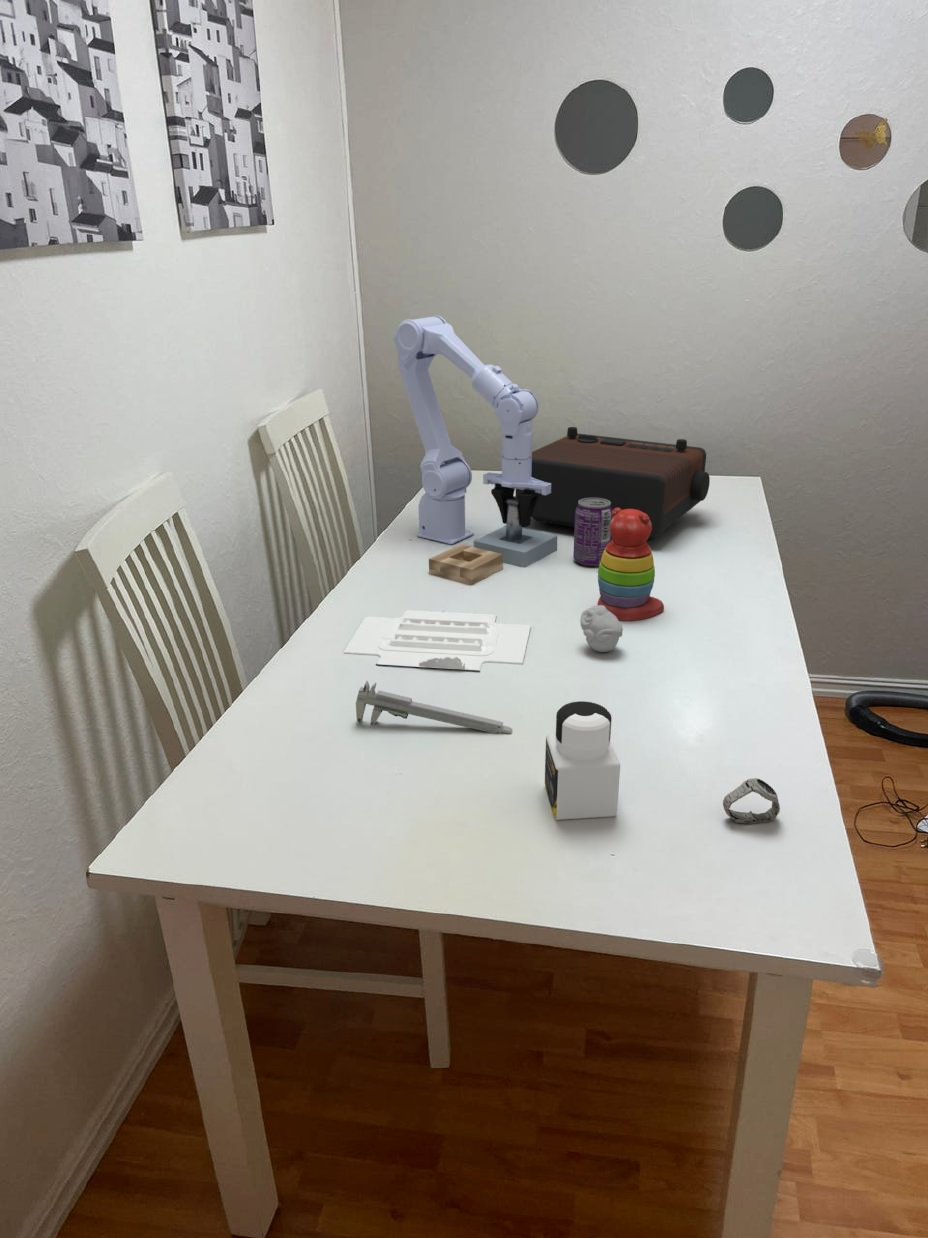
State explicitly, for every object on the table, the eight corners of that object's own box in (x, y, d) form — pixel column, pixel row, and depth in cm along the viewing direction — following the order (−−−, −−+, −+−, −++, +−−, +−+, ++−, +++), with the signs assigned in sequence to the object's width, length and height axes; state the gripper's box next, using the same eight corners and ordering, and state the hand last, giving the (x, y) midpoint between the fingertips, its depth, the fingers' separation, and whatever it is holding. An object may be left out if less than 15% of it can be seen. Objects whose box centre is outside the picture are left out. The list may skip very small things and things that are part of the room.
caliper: (356, 725, 120) (353, 683, 117) (359, 721, 121) (356, 679, 118) (511, 736, 117) (512, 693, 114) (512, 731, 118) (513, 689, 115)
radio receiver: (711, 518, 198) (720, 437, 190) (669, 555, 177) (677, 465, 170) (567, 496, 215) (570, 421, 207) (513, 527, 194) (514, 445, 186)
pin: (499, 538, 177) (501, 498, 174) (511, 534, 180) (513, 495, 177) (516, 542, 175) (518, 501, 172) (527, 538, 178) (530, 498, 175)
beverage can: (609, 555, 177) (612, 497, 172) (610, 568, 170) (614, 508, 165) (572, 554, 177) (575, 496, 172) (573, 567, 171) (575, 507, 166)
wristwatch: (782, 827, 99) (788, 789, 96) (727, 830, 98) (732, 792, 96) (769, 808, 102) (775, 771, 100) (716, 811, 101) (721, 774, 99)
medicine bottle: (544, 784, 106) (546, 696, 101) (603, 781, 107) (608, 692, 102) (554, 821, 100) (557, 729, 95) (617, 817, 100) (624, 725, 95)
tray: (370, 613, 154) (370, 593, 153) (532, 627, 151) (533, 606, 149) (337, 668, 136) (336, 646, 134) (520, 685, 132) (522, 662, 131)
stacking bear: (668, 609, 153) (677, 508, 145) (635, 627, 146) (643, 523, 139) (615, 593, 159) (621, 496, 152) (581, 610, 153) (586, 509, 145)
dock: (473, 555, 178) (473, 540, 177) (507, 538, 187) (507, 524, 186) (524, 567, 171) (524, 552, 170) (557, 549, 180) (557, 535, 179)
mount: (429, 573, 169) (428, 558, 168) (460, 558, 176) (460, 543, 175) (471, 585, 164) (471, 569, 162) (502, 568, 171) (502, 554, 170)
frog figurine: (594, 636, 143) (596, 596, 140) (630, 650, 139) (633, 609, 136) (570, 649, 139) (572, 608, 136) (606, 663, 135) (609, 621, 132)
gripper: (473, 455, 172) (474, 522, 178) (537, 466, 164) (536, 536, 170) (494, 448, 177) (494, 514, 183) (557, 458, 169) (555, 526, 175)
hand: (516, 524), depth 177 cm, fingers closed on pin, 4 cm apart
